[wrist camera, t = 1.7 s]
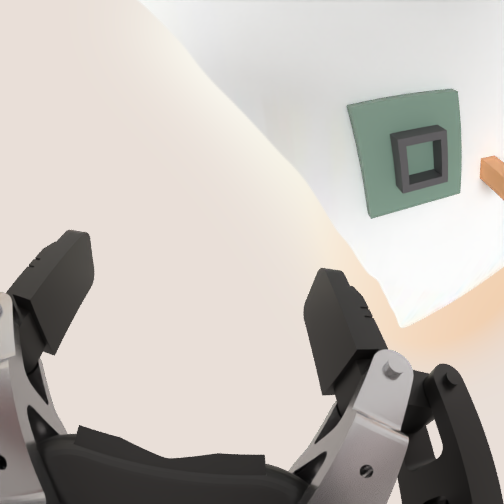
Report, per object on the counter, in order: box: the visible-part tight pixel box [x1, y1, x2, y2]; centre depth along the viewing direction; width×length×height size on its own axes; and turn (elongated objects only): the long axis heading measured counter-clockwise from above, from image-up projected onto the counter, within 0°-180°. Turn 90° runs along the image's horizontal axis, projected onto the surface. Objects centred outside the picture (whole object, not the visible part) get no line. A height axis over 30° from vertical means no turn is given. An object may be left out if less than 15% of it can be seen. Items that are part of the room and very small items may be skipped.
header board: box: [347, 89, 461, 219], centre depth 32 cm, size 18×18×4 cm
